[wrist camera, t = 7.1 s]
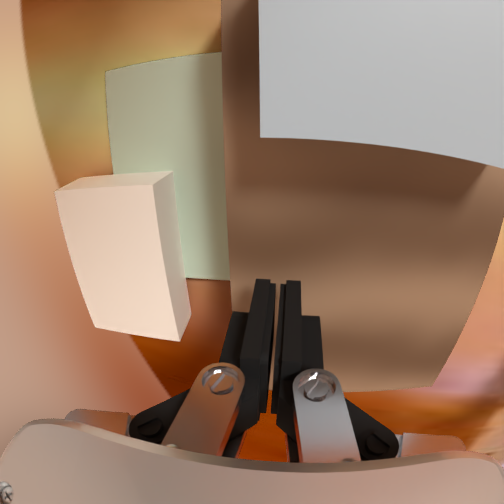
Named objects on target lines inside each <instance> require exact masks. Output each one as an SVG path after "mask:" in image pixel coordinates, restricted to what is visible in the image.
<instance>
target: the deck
mask: <svg viewBox="0 0 504 504" xmlns="http://www.w3.org/2000/svg"><path fill="white" fill-rule="evenodd" d="M221 43H222V100H223V135H224V164H225V189H226V211H227V232H228V251H229V269H230V285H231V301H232V313H233V311H237V312H249V310H250V305H251V301H252V296H253V291H254V286H255V281H256V279H270V280H271V283H276V298H275V322H274V341H273V352H272V362H271V372H270V381H269V390H272V388H273V372H274V357H275V346H276V334H277V323H278V310H279V298H280V284H286V280H297V281H301V307H302V315H309V316H320V323H321V335H322V349H323V363H324V370H327V371H329V372H331V373H332V374H334V375H335V376H336V377H337V378H338V380H339V382H340V384H341V388H342V391H343V392H361V391H383V390H397V389H409V388H420V387H429V386H432V385H433V383H434V382H435V380H436V378H437V377H438V375H439V373H440V372H441V370H442V368H443V366H444V365H445V363H446V361H447V359H448V357H449V356H450V354H451V352H452V350H453V348H454V346H455V344H456V342H457V340H458V338H459V336H460V334H461V332H462V330H463V328H464V326H465V324H466V322H467V320H468V317H469V315H470V313H471V311H472V308H473V306H474V304H475V301H476V299H477V297H478V294H479V292H480V289H481V287H482V284H483V281H484V279H485V276H486V273H487V270H488V268H489V265H490V262H491V259H492V256H493V253H494V250H495V246H496V243H497V240H498V236H499V233H500V229H501V226H502V222H503V218H504V169H503V168H499V167H495V166H491V165H487V164H483V163H479V162H474V161H470V160H465V159H461V158H456V157H451V156H446V155H441V154H435V153H430V152H424V151H418V150H411V149H405V148H398V147H390V146H382V145H374V144H365V143H355V142H344V141H332V140H317V139H298V138H260V64H259V1H258V0H221Z"/></svg>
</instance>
